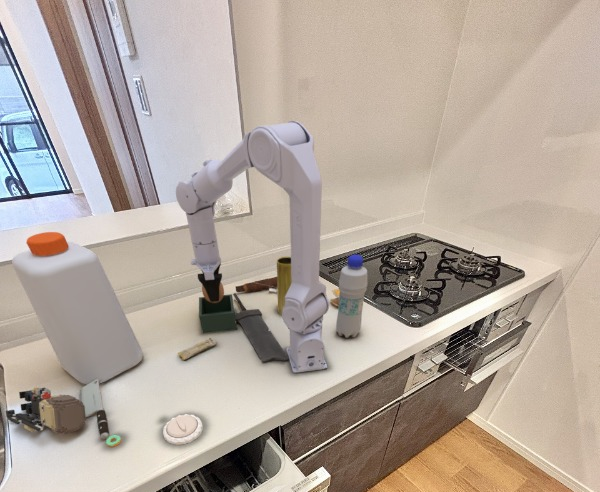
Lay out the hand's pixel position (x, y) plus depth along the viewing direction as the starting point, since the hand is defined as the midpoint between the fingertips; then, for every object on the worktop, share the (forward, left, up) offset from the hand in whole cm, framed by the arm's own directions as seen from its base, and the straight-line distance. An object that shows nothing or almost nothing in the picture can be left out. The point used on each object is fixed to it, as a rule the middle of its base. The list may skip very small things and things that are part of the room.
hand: (214, 295), depth 90 cm
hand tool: (+16, -31, -5) cm, 36 cm away
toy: (-26, +39, -5) cm, 47 cm away
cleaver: (-31, +28, -8) cm, 43 cm away
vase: (+2, -20, -8) cm, 21 cm away
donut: (-37, +17, -8) cm, 42 cm away
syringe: (+13, -16, -6) cm, 21 cm away
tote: (0, 0, -8) cm, 8 cm away
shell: (0, -33, -6) cm, 34 cm away
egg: (0, 0, -2) cm, 2 cm away
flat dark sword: (-5, -9, -8) cm, 13 cm away
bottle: (-13, -33, -8) cm, 36 cm away
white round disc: (-39, +8, -8) cm, 40 cm away
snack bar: (-13, +5, -8) cm, 16 cm away
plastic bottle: (-13, +27, -8) cm, 31 cm away
